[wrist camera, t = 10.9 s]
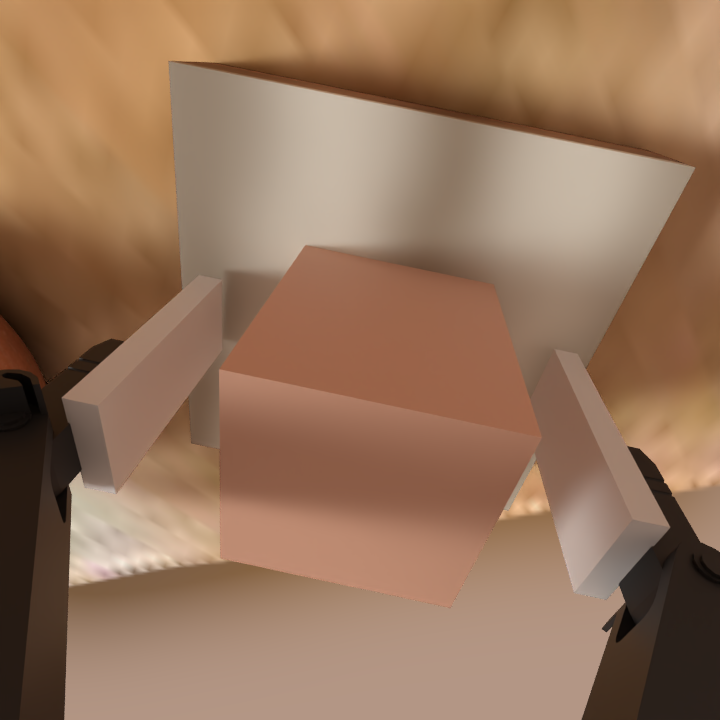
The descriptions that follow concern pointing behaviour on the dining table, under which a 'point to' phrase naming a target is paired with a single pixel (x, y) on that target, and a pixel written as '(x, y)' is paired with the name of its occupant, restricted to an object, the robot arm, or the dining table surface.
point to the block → (371, 427)
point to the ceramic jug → (16, 352)
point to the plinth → (406, 207)
